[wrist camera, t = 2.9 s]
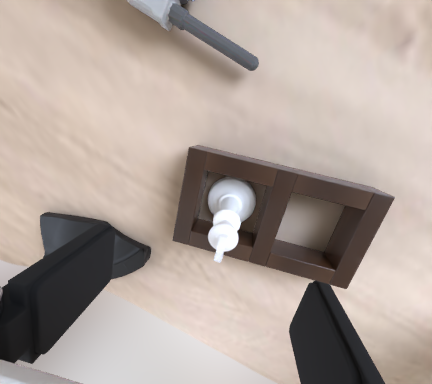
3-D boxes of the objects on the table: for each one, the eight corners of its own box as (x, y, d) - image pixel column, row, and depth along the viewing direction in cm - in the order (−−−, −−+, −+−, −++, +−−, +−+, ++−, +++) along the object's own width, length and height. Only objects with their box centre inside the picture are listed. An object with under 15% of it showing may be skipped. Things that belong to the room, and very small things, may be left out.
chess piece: (262, 183, 20) (275, 229, 11) (248, 227, 22) (249, 302, 12) (213, 170, 20) (185, 205, 11) (203, 214, 22) (170, 278, 12)
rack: (373, 187, 19) (395, 197, 16) (333, 268, 22) (346, 289, 19) (197, 144, 20) (189, 146, 17) (181, 227, 23) (172, 240, 20)
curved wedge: (149, 288, 26) (143, 298, 24) (53, 266, 27) (41, 274, 26) (152, 229, 23) (145, 236, 22) (46, 208, 25) (32, 213, 23)
